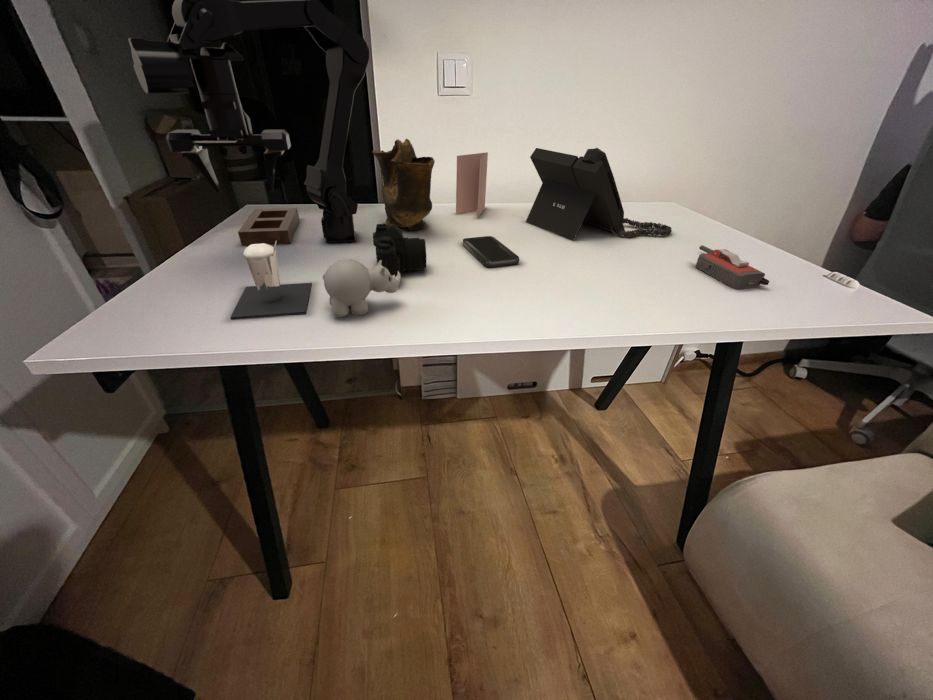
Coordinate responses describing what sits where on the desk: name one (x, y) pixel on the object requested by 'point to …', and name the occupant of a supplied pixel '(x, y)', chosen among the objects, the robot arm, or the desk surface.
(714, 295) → the desk surface
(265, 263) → the milkshake
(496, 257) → the phone
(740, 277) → the walkie-talkie
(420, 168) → the pottery vessel
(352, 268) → the round bodied animal figurine
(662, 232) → the office phone
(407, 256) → the film camera
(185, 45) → the robot arm
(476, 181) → the greeting card
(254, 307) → the mat
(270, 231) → the rack
